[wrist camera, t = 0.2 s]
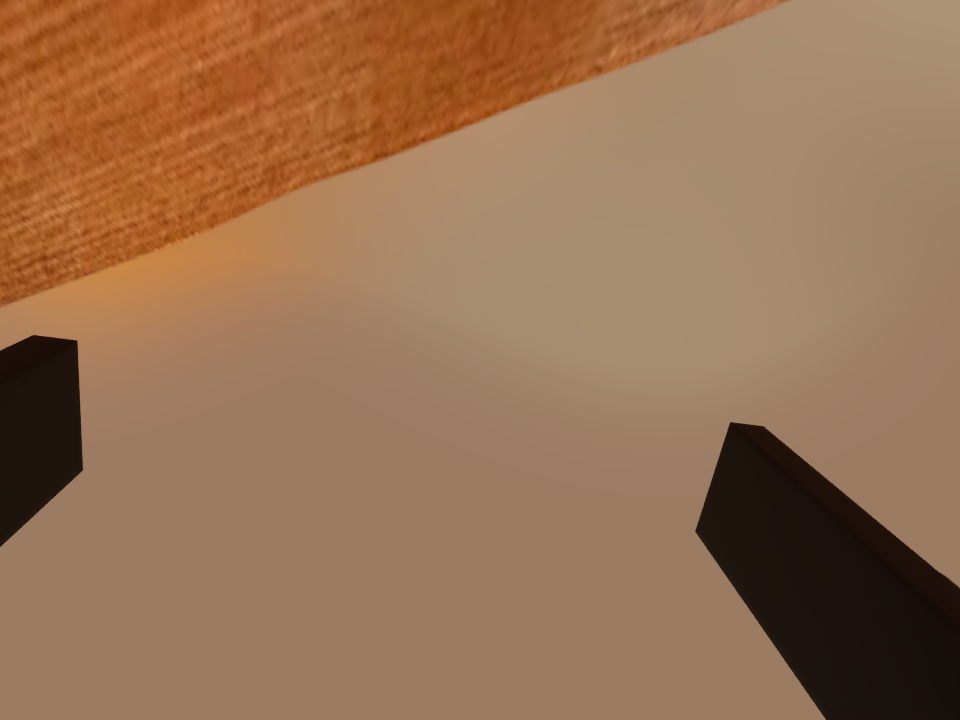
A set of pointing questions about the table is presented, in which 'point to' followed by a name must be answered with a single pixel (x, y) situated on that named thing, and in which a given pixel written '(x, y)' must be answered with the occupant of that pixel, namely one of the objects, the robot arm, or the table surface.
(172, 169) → the table surface
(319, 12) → the table surface
